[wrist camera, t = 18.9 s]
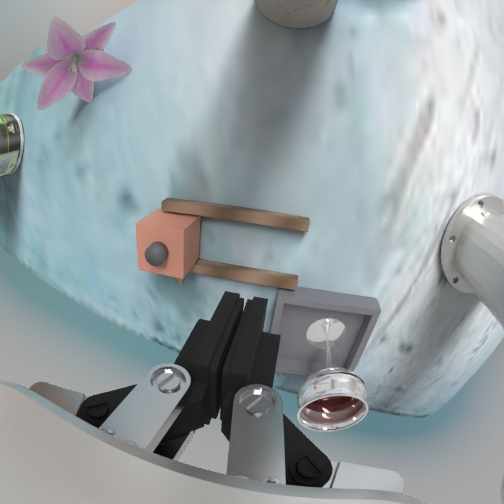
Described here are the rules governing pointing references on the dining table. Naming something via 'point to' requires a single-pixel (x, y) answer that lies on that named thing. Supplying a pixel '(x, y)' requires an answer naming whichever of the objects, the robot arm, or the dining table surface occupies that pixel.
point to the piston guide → (244, 216)
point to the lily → (74, 63)
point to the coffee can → (10, 143)
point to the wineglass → (330, 386)
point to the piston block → (168, 243)
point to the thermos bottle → (297, 11)
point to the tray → (311, 310)
